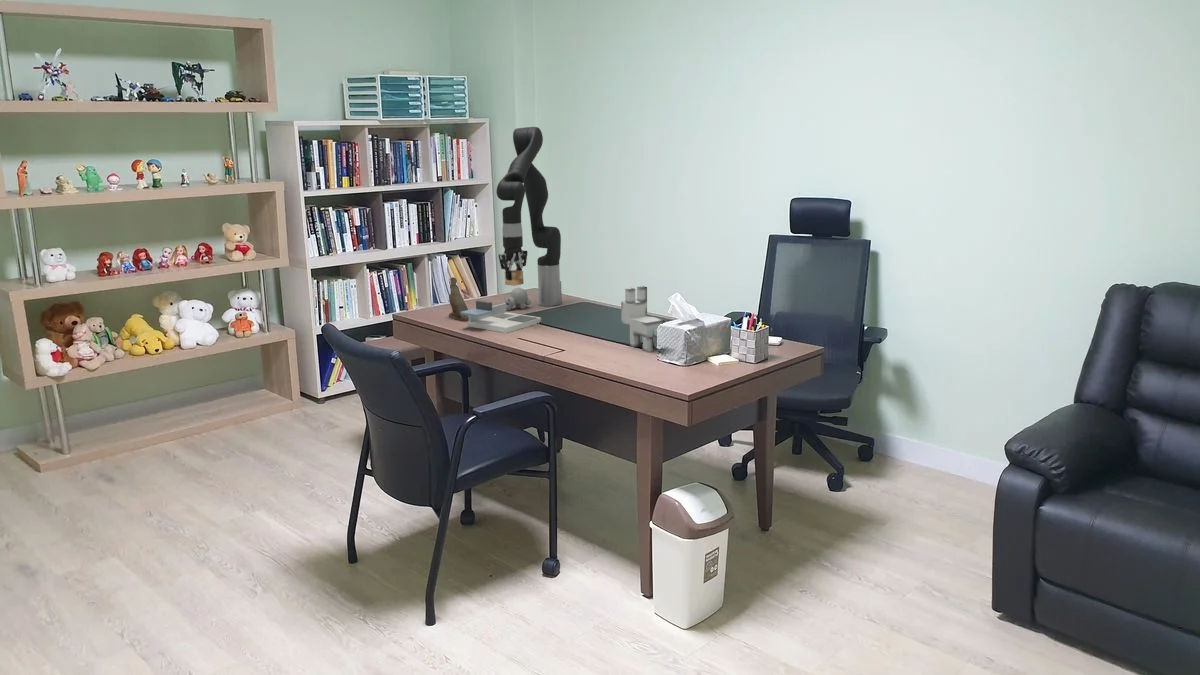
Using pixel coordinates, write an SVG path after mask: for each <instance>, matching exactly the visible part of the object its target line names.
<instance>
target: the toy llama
mask: <svg viewBox="0 0 1200 675" xmlns="http://www.w3.org/2000/svg"><path fill="white" fill-rule="evenodd" d="M624 290H625V291H624V293H625V294H624V295H625V296H624V299H625V300H622V301H620V302H621V303H620V304H621V307H620V308H621V309H620V312H621V313H620V314H621V318H620V319H621V322H620V323H622V324H624V325H628V326H629V347H632V348H638V347H637V346H639V347H641V344H642V343H643V344H642V351H643V352H646V353H649V352H653V351H654V349H656V346H657V328H658V326H659V325H660V324H663V323H665V324H666V322H665V319H661V318H658V317H654V316H652V315H648V287H647V286H644V285H641V286H637V287H636V288H633V287H626V288H625V289H624ZM640 337H641V338H640ZM656 350H657V349H656Z"/></svg>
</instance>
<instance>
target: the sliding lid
mask: <svg viewBox="0 0 1200 675" xmlns="http://www.w3.org/2000/svg"><path fill="white" fill-rule="evenodd" d="M492 306H493V302H491V301H485V300H476V301H475V307H474V308H471V309H468V310H466V311H462V312H461V314H463V315H469V316H475V317H479V316H483V315H487V314H490V313H494V310H492Z"/></svg>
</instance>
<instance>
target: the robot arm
mask: <svg viewBox="0 0 1200 675" xmlns="http://www.w3.org/2000/svg"><path fill="white" fill-rule="evenodd" d="M543 138H544V137H543V133H542V130H541V129H540V128H539V127H538V126H528V127H527V126H526V127H519V128H515V129H514V130H513V133H512V141H513V146H514V150H515V153H516V157H514V159H513V160H512V161H511V163H510V164H509V168H508V170H507V173H506V174H505V175H504V176H503V177H502V178H501V179H500V180H499V182H498V184H497V186H496V196H497V198H498V199H499V200H501V201H508V202H510V201H511V202H512V201H514V203H513V204H512V205H510V206H506V207H504V208H502V211H501V212H502V213H501V214H502V228H501V229H502V247H503V248H504V251H503V253H501V254H498V260H499V264H500V265H499V266H500V269H501V270H504V272H505V271H506V279H507V280H512V274H511V273H512V271H511V270H512V268H513V267H512V266H513V265H514V264H515V267H516V269H515V270H519V271H523V268H524V267H526V266H527V260H528V258H527V257H528V252H529V251H528V250H523V249H522V247H523V246H524V243H523V242H524V241H523V240H524V238H523V225H522V207H523V203H524V199H525V198H526V203H527V207H528V212H529V220H530V227H531V228H530V230H531V238H532V242H533V244H534V246H535V247H536V248H539V249H546V253H545V254H544V255H543V256H539V257H538V258H537V283H538V284H537V285H538V286H537V288H538V305H539V306H542V307H555V306H559V305H561V304H562V303H563V298H562V297H563V296H562V281H561V276H560V275H561V272H560V269H561V268H560V259H561V248H562V246H561V245H562V243H561V242H562V238H561V235H562V234H561V232H560V229H559V228H558V227H556V226H546V225H545V224H544V221H543V214H544V209H545V208H546V205H547V203H548V200H549V191H548V184H547V180H546V178H545V177H544V175H543V174H542V173H541V172H540V171H539V169H538V168H537V167H536V166H535V165H534V164H533V161H534V160H535V159H536V157H537V155H538V154H539V152H540V150H541V149H542V146H543V141H544V139H543Z"/></svg>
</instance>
